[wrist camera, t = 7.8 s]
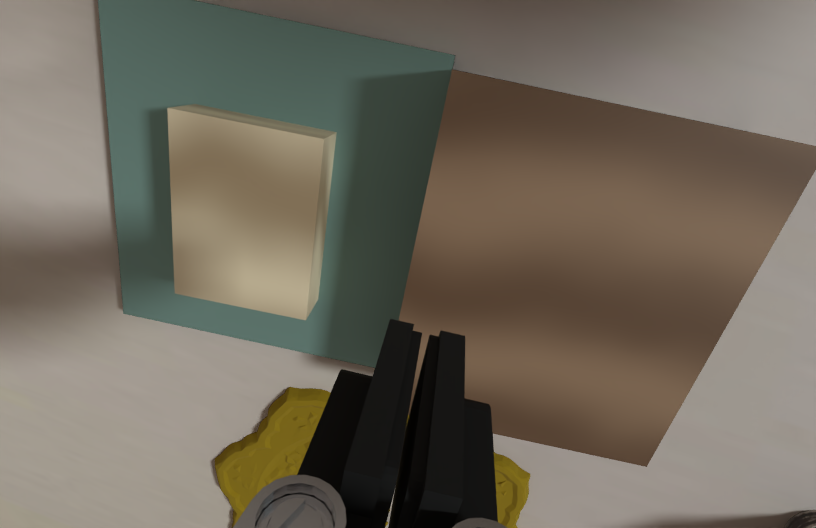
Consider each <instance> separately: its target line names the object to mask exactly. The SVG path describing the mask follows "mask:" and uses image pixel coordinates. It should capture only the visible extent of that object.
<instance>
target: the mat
mask: <svg viewBox="0 0 816 528" xmlns="http://www.w3.org/2000/svg"><path fill="white" fill-rule="evenodd" d="M98 8H99V20H100V32H101V44H102V57H103V69H104V81H105V93H106V106H107V118H108V130H109V142H110V155H111V167H112V179H113V191H114V204H115V216H116V228H117V240H118V252H119V265H120V277H121V289H122V301H123V314H128V315H133V316H137V317H142V318H147V319H151V320H156V321H160V322H165V323H170V324H174V325H179V326H184V327H188V328H193V329H197V330H202V331H207V332H211V333H216V334H221V335H225V336H230V337H234V338H239V339H244V340H248V341H253V342H258V343H262V344H267V345H272V346H276V347H281V348H285V349H290V350H295V351H299V352H304V353H309V354H313V355H318V356H322V357H327V358H332V359H336V360H341V361H346V362H350V363H355V364H360V365H364V366H369V367H373V368H375V367H376V364H377V360H378V357H379V354H380V350H381V347H382V344H383V341H384V337H385V334H386V331H387V327H388V324H389V321H390V319H394V320H399V316H400V311H401V307H402V302H403V297H404V293H405V288H406V283H407V279H408V274H409V269H410V264H411V260H412V255H413V250H414V246H415V241H416V236H417V232H418V227H419V222H420V218H421V213H422V208H423V204H424V199H425V194H426V189H427V185H428V180H429V175H430V171H431V166H432V161H433V157H434V152H435V147H436V143H437V138H438V133H439V129H440V124H441V119H442V114H443V110H444V105H445V100H446V96H447V91H448V86H449V82H450V77H451V72H452V68H453V64H454V59H455V55H451V54H446V53H442V52H437V51H432V50H427V49H423V48H418V47H413V46H408V45H404V44H399V43H394V42H389V41H385V40H380V39H375V38H370V37H366V36H361V35H356V34H351V33H347V32H342V31H337V30H332V29H328V28H323V27H318V26H313V25H309V24H304V23H299V22H294V21H290V20H285V19H280V18H275V17H271V16H266V15H261V14H256V13H252V12H247V11H242V10H237V9H233V8H228V7H223V6H218V5H214V4H209V3H204V2H199V1H195V0H98ZM192 104H198V105H203V106H208V107H213V108H218V109H223V110H228V111H233V112H238V113H243V114H248V115H253V116H258V117H263V118H268V119H273V120H278V121H283V122H288V123H293V124H298V125H303V126H308V127H313V128H318V129H323V130H328V131H333V132H337V133H336V142H335V151H334V161H333V170H332V179H331V188H330V197H329V206H328V215H327V224H326V233H325V242H324V251H323V260H322V269H321V278H320V287H319V296H318V300H317V302H316V304H315V306H314V307H313V309H312V311H311V312H310V314H309V316H308V318H307V319H306V320H301V319H297V318H292V317H287V316H282V315H277V314H272V313H267V312H262V311H258V310H253V309H248V308H243V307H238V306H233V305H228V304H223V303H219V302H214V301H209V300H204V299H199V298H194V297H189V296H184V295H180V294H175V288H174V263H173V238H172V213H171V187H170V162H169V137H168V112H167V108H170V107H177V106H185V105H192Z"/></svg>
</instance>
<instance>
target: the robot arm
mask: <svg viewBox="0 0 816 528" xmlns="http://www.w3.org/2000/svg"><path fill="white" fill-rule="evenodd" d="M413 327H414V324H412V323H407V322H403V321H399V320H394V319H390V321H389V324H388V327H387V331H386V334H385V337H384V341H383V344H382V347H381V350H380V354H379V357H378V360H377V364H376V367H375V370H374V374H373V377H372V376H368V375H364V374H359V373H355V372H351V371H347V370H341V371H340V372H339V375H338V377H337V379H336V382H335V384H334V386H333V389H332V391H331V394H330V396H329V398H328V401H327V403H326V406H325V408H324V411H323V413H322V415H321V418H320V420H319V423H318V425H317V428H316V430H315V432H314V435H313V437H312V440H311V442H310V444H309V447H308V449H307V452H306V454H305V457H304V459H303V461H302V464H301V466H300V469H299V471H298V474H297V475H289V476H286V477H283V478H280V479H277V480H275V481H273V482H271V483H270V484H268V485H267V486H265V487H263V488H262V489H261V490H260V491H259V492H258V494H257V495H256V496H255V497H254V498H253V499H252V500H251V502H250V503H249V505H248V506H247V508H246V509H245V511H244V512H243V513H242V515H241V516H240V518H239V519H238V521H237V522H236V524H235V525H234V527H233V528H385V525H386V521H387V517H388V513H389V509H390V506H391V502H392V498H393V494H394V498H393V504H392V510H391V516H390V522H389V527H388V528H507V527H506V526H504V525H502V524H500V523H498V515H497V498H496V482H495V465H494V449H493V432H492V416H491V407H490V405H489V404H487V403H483V402H478V401H474V400H470V399H466V398H465V336H464V335H459V334H455V333H451V332H446V331H442V330H441V331H440V333H439V336H434V335H429V339H428V343H427V347H426V351H425V355H424V359H423V363H422V366H421V370H420V374H419V378H418V382H417V386H416V390H415V394H414V398H413V402H412V406H411V410H410V414H409V418H408V413H409V407H410V402H411V396H412V390H413V384H414V378H415V372H416V367H417V361H418V355H419V349H420V343H421V337H422V333H421V332H417V331H413ZM407 419H408V422H407ZM406 425H407V426H406ZM395 485H396V487H395ZM394 490H395V493H394Z"/></svg>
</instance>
